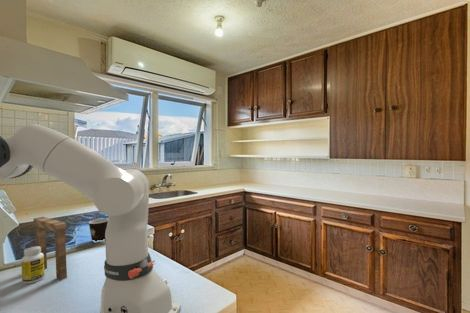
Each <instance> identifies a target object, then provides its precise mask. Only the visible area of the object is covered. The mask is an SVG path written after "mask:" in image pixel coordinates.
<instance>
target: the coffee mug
mask: <svg viewBox="0 0 470 313" xmlns="http://www.w3.org/2000/svg"><path fill="white" fill-rule="evenodd" d="M107 223H108V218H98V219H93V220H90V221H89V222H88V226H89V231H90V232H89V233H90V236H91V237H90V238H91V241H92V240H95V241H97V240H103V239H105V231H106V228H107Z"/></svg>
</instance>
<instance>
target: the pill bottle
mask: <svg viewBox="0 0 470 313" xmlns="http://www.w3.org/2000/svg"><path fill="white" fill-rule="evenodd" d="M44 278H45V269H44V254H43V253H41V247H39V246H36V245H35V246H31V247H27V248H25V249H24V250H23V257H22V258H21V282H22V284H26V285H29V284H35V283H37V282H40V281H41V280H43V279H44Z"/></svg>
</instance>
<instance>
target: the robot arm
mask: <svg viewBox="0 0 470 313" xmlns="http://www.w3.org/2000/svg"><path fill="white" fill-rule="evenodd" d="M33 168H36V169H37V170H40V171H41V172H43V173H45V174H46V175H49V176H50V177H53V178H55V179H56V180H57V179H58V181H61V182H63V183H65V184H67V185H68V186H70V187H72V188H74V189H75V190H77V191H78V192H79V193H81V194H82V195H83V196H85V198H87V200H88V199H89V200H90V201H91V202H92V203H94V205H95V208H96V209H97V210H98V211H99V212H101V213H102V214H104V215H106V216H108V218H107V219H108V223H107V228H106V231H105V242H104V243H105V260H104V265H103V267H104V268H103V270H104V277H105V279H104V280H105V281H104V282H103V285H102V288H101V293H100V308H99V309H100V312H99V313H180V312H181V308H182V306H181V303H180V302H179V301H177V300H176V299H174V298H172V292H171V288H170V286H169V285H168V281H167V278H162V277H161V276H160V275H159V274H158V272H157V271H156V270H155V269H154V265H155V264H156V263H155V261H156V260H154V259H153V260H152V257H151V255H150V253H149V244H148V243H149V241H148V239H149V238H148V237H149V236H148V220H149V204H150V203H149V202H150V199H149V198H150V196H149V194H150V183H149V179H148V177H147V176H146V175H145V174H144V173H143V172H142V171H141V170H138V169H134V168H126V169H123V168H120V167H118V166H117V165H115V164H114V163H112V162H111V161H110V160H108V159H107V158H106V157H104V156H103V155H102V154H101V153H99V152H98V151H96V150H94V149H93V148H91V147H88V146H87V145H85V144H83V143H81V141H78V140H76V139H75V138H73V137H70V136H68V135H66V134H65V133H63V132H60V131H58V130H57V129H53V128H51V127H48V126H45V125H41V124H38V123H28V124H25V125H23V126H21V127H20V128H18V129H17V130H16V131H15V132H14V133H13V134H12V135H11V136H9V137H2V136H0V180H1V181H2V180H6V179H16V178H18V177H22V176H24V175H26V174H28V173H29V172H30V171H31V170H32V169H33Z"/></svg>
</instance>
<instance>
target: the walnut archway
mask: <svg viewBox="0 0 470 313" xmlns="http://www.w3.org/2000/svg"><path fill="white" fill-rule="evenodd" d="M33 226H35V227H34V228H35V247H36V246H39V247H41V253H43V254H44V270H46V269H47V268H48V260H47V257H48V256H47V239H46V234H47V233H46V230H49V231H52V232H54V248H55V249H54V251H55V252H54V254H55V269H56V270H55V273H56V279H57V280H60V281H62V280H65V279H68V272H67V269H68V268H67V248H66V246H67V245H66V244H67V243H66V231H67V222H64V221H60V220H55V219H53V218H48V217H44V216H41V217H36V218H35V217H34V218H33Z"/></svg>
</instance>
